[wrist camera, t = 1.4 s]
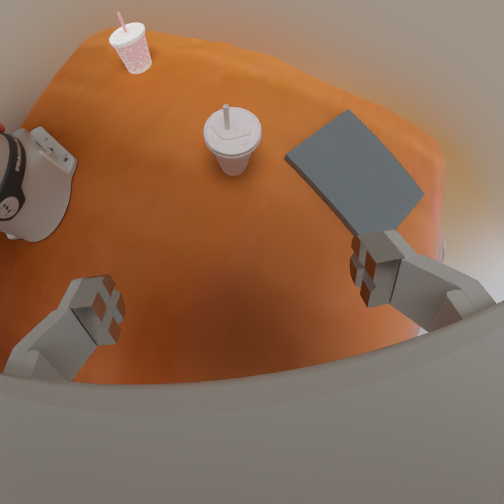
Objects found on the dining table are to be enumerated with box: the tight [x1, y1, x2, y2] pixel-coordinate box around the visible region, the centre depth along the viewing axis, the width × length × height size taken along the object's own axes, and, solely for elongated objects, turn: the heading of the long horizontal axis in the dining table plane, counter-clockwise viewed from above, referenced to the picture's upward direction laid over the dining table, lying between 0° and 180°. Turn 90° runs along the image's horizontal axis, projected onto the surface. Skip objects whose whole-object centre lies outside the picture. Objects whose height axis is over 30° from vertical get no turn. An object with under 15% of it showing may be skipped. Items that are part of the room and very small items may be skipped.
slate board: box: [285, 109, 424, 236], centre depth 38 cm, size 18×14×2 cm
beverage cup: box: [109, 12, 152, 74], centre depth 33 cm, size 6×6×14 cm
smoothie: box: [204, 104, 261, 176], centre depth 31 cm, size 6×6×14 cm
